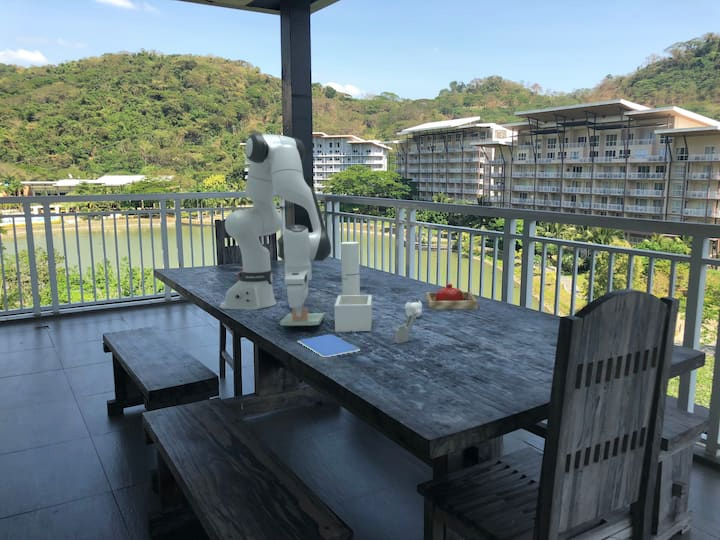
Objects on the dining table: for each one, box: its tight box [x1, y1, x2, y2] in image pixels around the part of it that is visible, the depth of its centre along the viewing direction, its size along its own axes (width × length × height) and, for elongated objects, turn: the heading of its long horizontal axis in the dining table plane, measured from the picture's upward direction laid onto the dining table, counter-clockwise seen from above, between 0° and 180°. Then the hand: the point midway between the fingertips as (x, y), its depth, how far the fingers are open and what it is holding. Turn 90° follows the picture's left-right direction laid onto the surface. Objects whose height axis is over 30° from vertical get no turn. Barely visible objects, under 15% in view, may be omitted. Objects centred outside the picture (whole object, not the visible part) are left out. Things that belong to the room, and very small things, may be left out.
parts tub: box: [333, 294, 373, 333], centre depth 190 cm, size 12×16×9 cm
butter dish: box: [434, 283, 468, 301], centre depth 219 cm, size 12×12×8 cm
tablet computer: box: [297, 333, 361, 358], centre depth 167 cm, size 19×13×1 cm, turn 30°
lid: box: [279, 307, 325, 327], centre depth 191 cm, size 13×17×6 cm
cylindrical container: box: [340, 241, 361, 295], centre depth 221 cm, size 7×7×25 cm
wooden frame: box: [425, 291, 479, 310], centre depth 219 cm, size 18×17×3 cm
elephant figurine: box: [404, 300, 423, 318], centre depth 200 cm, size 7×8×6 cm
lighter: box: [394, 315, 417, 345], centre depth 171 cm, size 7×2×8 cm, turn 123°
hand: (299, 315), depth 184 cm, fingers closed on lid
